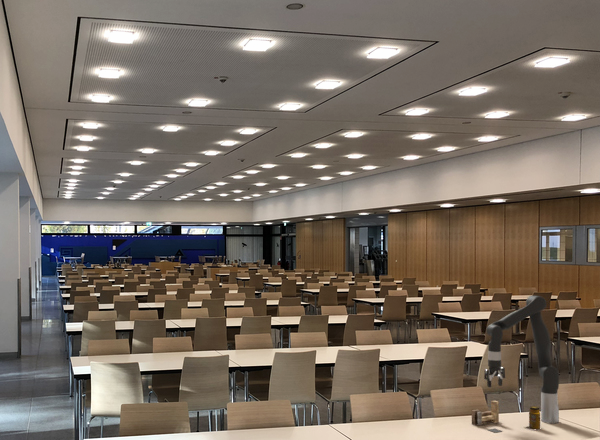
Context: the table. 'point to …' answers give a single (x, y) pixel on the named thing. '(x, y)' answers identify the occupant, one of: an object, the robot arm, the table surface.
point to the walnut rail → (487, 413)
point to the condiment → (534, 418)
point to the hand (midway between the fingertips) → (494, 386)
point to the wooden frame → (494, 414)
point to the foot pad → (494, 430)
